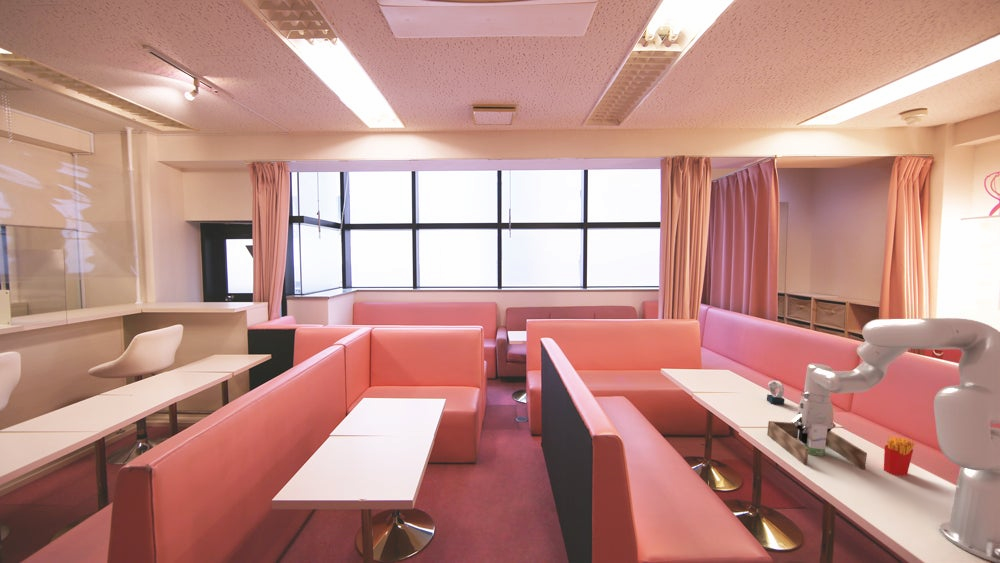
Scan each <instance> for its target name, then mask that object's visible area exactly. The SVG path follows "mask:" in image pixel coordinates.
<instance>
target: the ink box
mask: <svg viewBox="0 0 1000 563" xmlns="http://www.w3.org/2000/svg"><path fill="white" fill-rule="evenodd" d="M799 424H800V422H799ZM803 428H804V426H803ZM827 429H828V427H827V426H826V425H823V424H815V423H812V425H811V428H808V430H807V432H806V433H807V443H806V444H804V443H803V442H801V441H800V440H799V430H798V438H796V440H798V441H799V442H800V443H802V444H803V445H804V446H806V447H807V448H809V451H808V455H812V456H819V457H820V456H821V457H824V456H825V451H826V446H827V445H826V436H827Z"/></svg>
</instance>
